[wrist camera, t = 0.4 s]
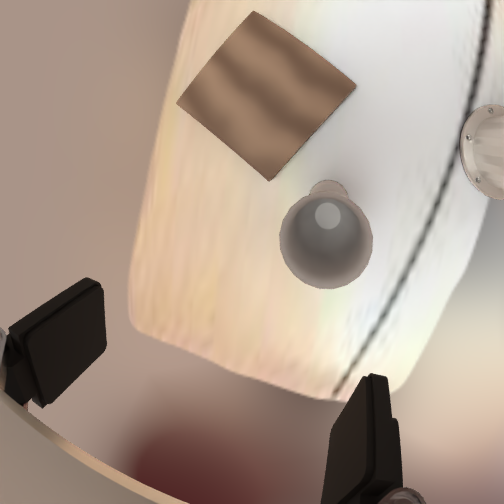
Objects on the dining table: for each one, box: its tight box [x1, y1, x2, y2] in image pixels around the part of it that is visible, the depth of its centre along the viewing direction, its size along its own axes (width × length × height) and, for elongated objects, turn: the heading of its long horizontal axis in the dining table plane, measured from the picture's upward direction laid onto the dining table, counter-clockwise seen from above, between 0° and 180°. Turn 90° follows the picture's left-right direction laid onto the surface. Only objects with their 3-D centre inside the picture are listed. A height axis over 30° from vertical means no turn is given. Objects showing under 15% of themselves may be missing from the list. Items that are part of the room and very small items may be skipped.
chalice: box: [279, 180, 373, 289], centre depth 31 cm, size 7×7×18 cm
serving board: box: [176, 11, 356, 181], centre depth 35 cm, size 16×16×2 cm
